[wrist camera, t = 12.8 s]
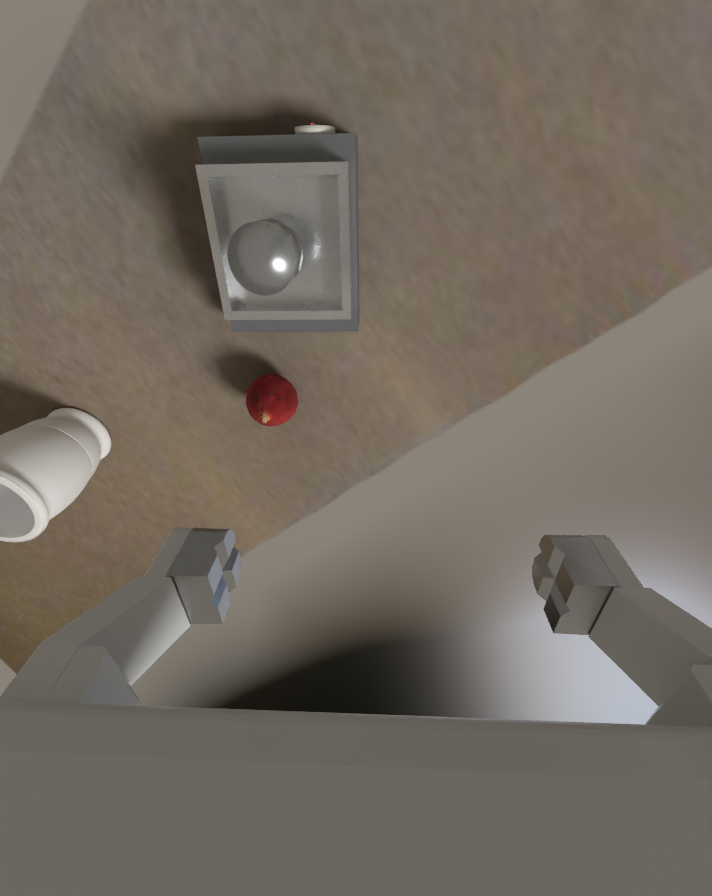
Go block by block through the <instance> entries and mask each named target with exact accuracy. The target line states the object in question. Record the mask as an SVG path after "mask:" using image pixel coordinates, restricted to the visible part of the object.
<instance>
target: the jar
mask: <svg viewBox="0 0 712 896" xmlns="http://www.w3.org/2000/svg"><path fill="white" fill-rule="evenodd" d="M110 448H111V439H110V436H109V433H108V431H107V430H106V428H105V427H104V426H103V425H102V424H101V422H99V421H98V420H97V419H96V418H95V417H93V416H91V415H90V414H88V413H86V412H84V411H81V410H78V409H73V408H60V409H57V410H54V411H52V412H51V413H50V414H49V415H48V416H47V418H41V419H38V420H35V421H32V422H29V423H27V424H25V425H23V426H21V427H19V428H16V429H13V430H11V431H8V432H6V433H4V434H2V435H0V541H6V542H24V541H29V540H32V539H34V538H36V537H37V536H38V535H39V534H41V533H42V532H43V531H44V530H45V528H46V527H47V525H48V522H49V520H50V519H51V518H53V517H54V516H56V515H57V514H59V513H60V512H61V511H62V510H64V509H65V508H66V507H67V506H68V505H69V504H71V503H72V502H73V501H74V500H75V499H76V497H77V496H78V495H79V494H80V493H81V491H82V490H83V489H84V487H85V486H86V484H87V483H88V481H89V479H90V478H91V476H92V475H93V474H94V472H95V470H96V468H97V466H98V464H99V461H100V459H102V458H104V457H105V456H106V455H107V454H108V453H109V451H110Z"/></svg>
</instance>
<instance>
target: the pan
mask: <svg viewBox="0 0 712 896" xmlns="http://www.w3.org/2000/svg"><path fill="white" fill-rule="evenodd" d="M195 167H196V172H197V178H198V183H199V188H200V193H201V198H202V204H203V209H204V214H205V219H206V224H207V230H208V235H209V240H210V245H211V251H212V256H213V261H214V266H215V271H216V277H217V282H218V287H219V292H220V297H221V303H222V308H223V313H224V318H225V320H342V319H351V318H352V313H353V305H352V253H351V202H350V163H349V162H348V161H346V162H300V163H254V164H207V165H195ZM278 215H288V216H291V217H294V218H295V219H297V220H298V221H300V222H301V223H302V224H303V225H304V226H305V228H306V229H307V231H308V233H309V235H310V238H311V243H312V252H311V257H310V260H309V262H308V263H307V265H306V266H305V267H304V268H303V269H302V270H301V272H300V273H299V274H298V275H297V276H296V277H295V278H294V279H293V280H292V281H291V282H290V283H289V284H288V285H287V287H286V288H285V289H283V290H282V291H281V292H279V293H277V294H274V295H269V296H262V295H257V294H254V293H252V292H250V291H248V290H246V289H245V288H244V287H243V286H241V285H240V284H239V283H238V281H237V280H236V279H235V277H234V276H233V274H232V272H231V270H230V267H229V263H228V257H227V250H228V245H229V241H230V239H231V237H232V235H233V233H234V232H235V231H236V230H237V229H238V228H239V227H241V226H242V225H244V224H246V223H250V222H254V221H258V220H262V219H266V218H270V217H274V216H278Z"/></svg>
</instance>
